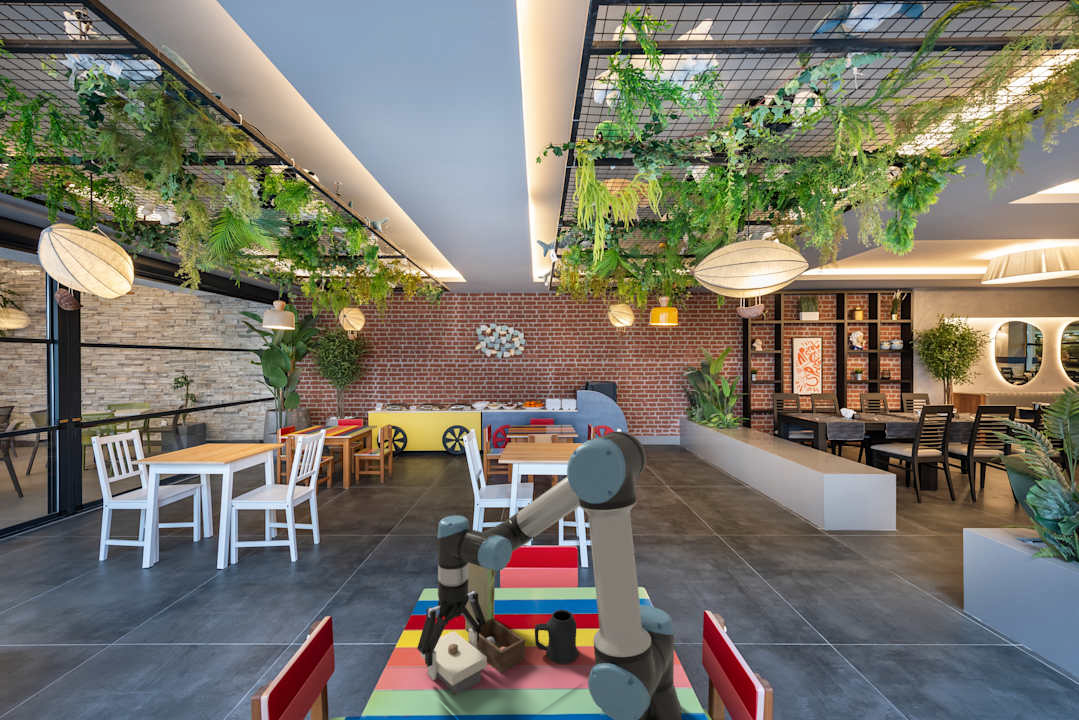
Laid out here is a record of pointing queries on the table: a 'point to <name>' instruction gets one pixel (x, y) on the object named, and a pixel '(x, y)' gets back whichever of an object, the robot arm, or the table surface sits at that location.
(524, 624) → the table surface
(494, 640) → the ball bluegrey
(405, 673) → the table surface
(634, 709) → the robot arm
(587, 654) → the table surface
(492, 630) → the box
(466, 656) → the lid
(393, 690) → the table surface
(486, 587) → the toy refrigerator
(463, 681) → the block
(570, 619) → the mug
